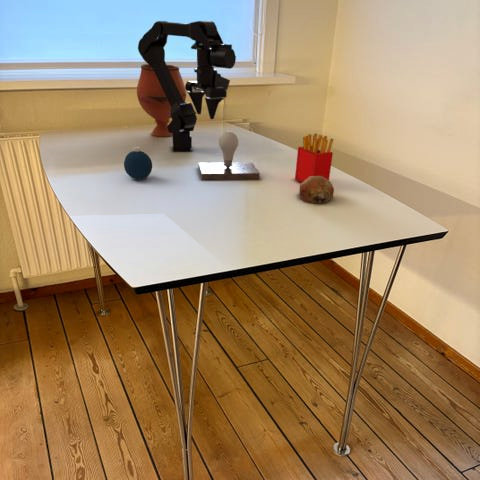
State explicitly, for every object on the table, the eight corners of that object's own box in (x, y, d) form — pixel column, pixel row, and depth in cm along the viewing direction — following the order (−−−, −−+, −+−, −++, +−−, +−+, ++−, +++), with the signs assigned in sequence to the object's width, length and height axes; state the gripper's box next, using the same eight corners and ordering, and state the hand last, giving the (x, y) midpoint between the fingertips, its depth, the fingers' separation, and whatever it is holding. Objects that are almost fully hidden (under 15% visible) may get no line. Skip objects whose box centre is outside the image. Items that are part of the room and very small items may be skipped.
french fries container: (311, 177, 158) (317, 132, 151) (329, 185, 152) (336, 138, 144) (293, 180, 155) (298, 133, 148) (311, 188, 149) (317, 140, 141)
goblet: (184, 140, 192) (182, 69, 179) (135, 138, 192) (129, 67, 178) (189, 130, 208) (187, 64, 195) (143, 128, 208) (139, 61, 194)
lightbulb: (230, 171, 153) (231, 134, 147) (214, 168, 156) (214, 131, 150) (241, 167, 158) (242, 131, 152) (225, 163, 160) (225, 128, 154)
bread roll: (332, 209, 145) (338, 181, 144) (328, 204, 135) (334, 175, 134) (299, 204, 147) (304, 176, 146) (293, 199, 137) (299, 170, 136)
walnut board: (201, 180, 151) (201, 173, 150) (198, 169, 161) (198, 162, 160) (258, 179, 154) (259, 173, 153) (252, 168, 164) (252, 162, 163)
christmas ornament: (158, 178, 151) (157, 145, 146) (138, 185, 145) (136, 150, 140) (139, 173, 155) (137, 140, 150) (119, 179, 149) (116, 145, 144)
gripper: (241, 68, 157) (239, 120, 166) (213, 62, 171) (212, 110, 179) (210, 69, 152) (210, 122, 161) (184, 63, 166) (185, 112, 174)
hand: (205, 116), depth 169 cm, fingers open, 9 cm apart
